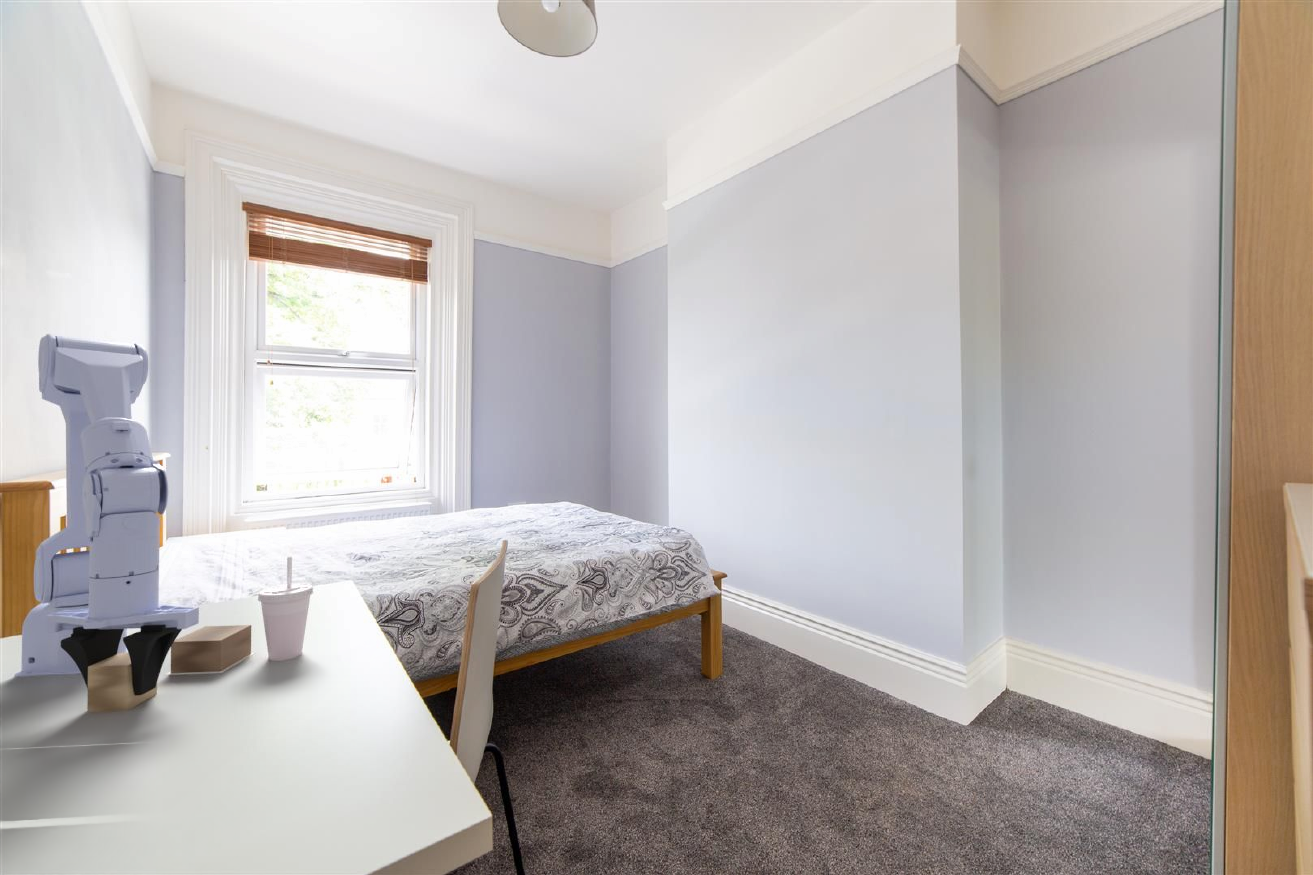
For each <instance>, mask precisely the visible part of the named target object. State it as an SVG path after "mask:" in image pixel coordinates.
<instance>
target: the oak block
mask: <svg viewBox="0 0 1313 875" xmlns="http://www.w3.org/2000/svg"><path fill="white" fill-rule="evenodd" d="M156 695H158V683H157V684H156V687H155V688H154V689H152V690H150V691H148V692H147V693H145V694H143V695H135V694H134V691H133V685H132V665H131V660H130V656H129V653H119V654H117V655H114V656H112V657H110V658H107V659H105V660H103V661H100V662H98V663H95V664H93V665H91V666H88V689H87V706H86V707H87V713H101V712H125V711H128V710H130V709H133V708H135V707H136V706H138V705H139V704H140V705H141V704H142V703H143V702H145V701H147V700H149V699H150V698H153V697H154V696H156Z"/></svg>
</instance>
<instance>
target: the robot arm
mask: <svg viewBox="0 0 1313 875" xmlns="http://www.w3.org/2000/svg"><path fill="white" fill-rule="evenodd" d="M37 356H38V358H37V359H38V361H37V362H38V385H39V386H38V389H39V390H38V391H39V392H40V393H41V400H44V401H47V402H48V403H52V404H53V405H56V406H59V408H60V410H61V413H62V415H63V419H64V422H65V462H66V463H65V464H66V465H65V467H66V470H65V471H66V472H65V473H66V474H65V475H66V476H65V477H66V480H65V481H66V482H65V483H66V527H64V528H63V529H61V530H60V531H58V532H56V533H55V534H52V535H51V536H49V537H48V538H46V539H44V540H43V541H42V542H40V544H39V546H38V547H37V548H36V550H35V561H34V565H33V566H34V567H33V593H34V599H35V600H36V601H38V602H40V603H39V604H38V605H36V606H35V607H33V608H32V609H31V610H29V612H28V613H27V615H26V616H25V619H24V621H23V623H22V626H21V627H22V629H21V666H20V667H21V671H19V672H16V673H14V678H16V677H32V676H52V675H53V676H56V675H57V676H59V675H81V676H82V678H83V681H84V683H85V685H86V688H87V690H88V666H91V665H93V664H95V663H98V662H100V661H103V660H105V659H107V658H110V657H112V656H114V655H117V654H119V653H129V656H130V660H131V665H132V685H133V691H134V694H135V695H143V694H145V693H147V692H148V691H150V690H152V689H154V688H155V687H156V684H157V685H158V679H159V676H160V674H161V670H162V667H163V665H164V663H165V660H166V657H167V655H168V653H169V651H170V650H171V646H172V644H173V642H174V641H175V640H176V639H177V637H178V636H179V634H180V633H181V632H182V630H186V629H189V628H191V627H193V626H196V625H198V624H199V622H200V620H199V619H200V617H199V616H200V612H199V611H200V610H199V609H200V607H199V606H180V605H179V606H178V605H168V604H160V602H159V598H160V596H159V594H160V593H159V590H160V588H159V587H160V533H161V531H160V530H161V528H160V526H161V522H160V521H161V520H160V518H161V516H160V515H164V514H165V511H166V509H167V507H168V506H167V505H168V499H169V483H168V482H169V481H168V476H167V472H166V470H165V468H164V467H163V466H162V465H161V464H160V461H159V460H154V457H153V453H152V449H151V445H150V440H149V436H148V433H147V430H146V427H145V426H143V425H142V424H141V423H140V422H139V421H135V420H133V418H132V405H134V404H135V402H136V400H137V398H138V397H139V396H140V394H141V393H142V392H141V391H142V389H143V386H144V385H145V384H146V382H147V378H148V375H149V355H148V351H147V350H146V348H145V347H144V346H143V345H142V344H140V343H134V344H132V343H125V342H124V343H123V342H114V341H107V340H106V341H105V340H96V339H87V338H79V337H69V336H62V335H61V336H59V335H55V334H53V333H47V334H45V335H44V336H43V337H41V338H40V340H39V346H38V355H37ZM157 513H158V514H157ZM81 548H89V550H82V551H81V550H80V551H72V552H63V553H59V552H61V551H63V550H70V549H71V550H72V549H81ZM128 629H129V630H132V629H140V631H137V632H134V633H132V634H129V635H127V633H128V632H127V630H128Z"/></svg>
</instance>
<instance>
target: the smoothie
mask: <svg viewBox="0 0 1313 875" xmlns="http://www.w3.org/2000/svg"><path fill="white" fill-rule="evenodd" d="M286 558H287V559H286V561H287V562H286V584H280V585H275V586H269V587H267V588H264V589H262V590H260V591H258V598H257V601H258V602H260V604H261V614H262V620H263V625H264V627H263V628H264V633H265V634H264V635H265V639H266V649H267V655H268V660H270V661H273V662H275V661H276V662H280V661H286V660H291V659H294V658H297V657H299V656H300V655H302V653H303V646H304V640H305V635H306V634H305V633H306V626H307V619H308V613H309V606H310V601H311V600H310V598H311V596H312V594H313V593H314V586H313V584H310V583H293V574H292V573H293V566H292V565H293V564H292V563H293V556H287V557H286Z"/></svg>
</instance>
